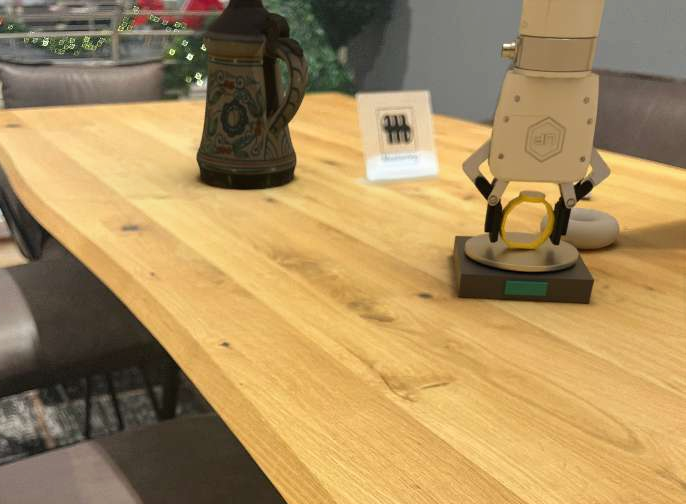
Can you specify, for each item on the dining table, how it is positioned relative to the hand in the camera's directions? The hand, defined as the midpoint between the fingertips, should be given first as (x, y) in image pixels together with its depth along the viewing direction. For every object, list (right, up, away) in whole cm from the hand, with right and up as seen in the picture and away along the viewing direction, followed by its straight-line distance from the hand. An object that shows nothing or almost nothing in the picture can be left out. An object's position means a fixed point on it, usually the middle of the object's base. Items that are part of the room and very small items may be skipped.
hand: (523, 239), depth 86 cm
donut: (+11, +5, +15) cm, 19 cm away
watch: (0, -1, +1) cm, 1 cm away
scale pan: (0, -1, +1) cm, 2 cm away
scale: (0, -4, +3) cm, 4 cm away
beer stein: (-33, +24, +41) cm, 58 cm away
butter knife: (+17, +25, +43) cm, 53 cm away
